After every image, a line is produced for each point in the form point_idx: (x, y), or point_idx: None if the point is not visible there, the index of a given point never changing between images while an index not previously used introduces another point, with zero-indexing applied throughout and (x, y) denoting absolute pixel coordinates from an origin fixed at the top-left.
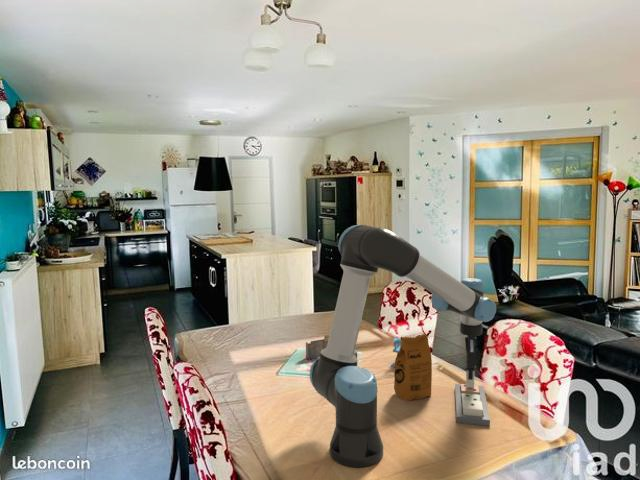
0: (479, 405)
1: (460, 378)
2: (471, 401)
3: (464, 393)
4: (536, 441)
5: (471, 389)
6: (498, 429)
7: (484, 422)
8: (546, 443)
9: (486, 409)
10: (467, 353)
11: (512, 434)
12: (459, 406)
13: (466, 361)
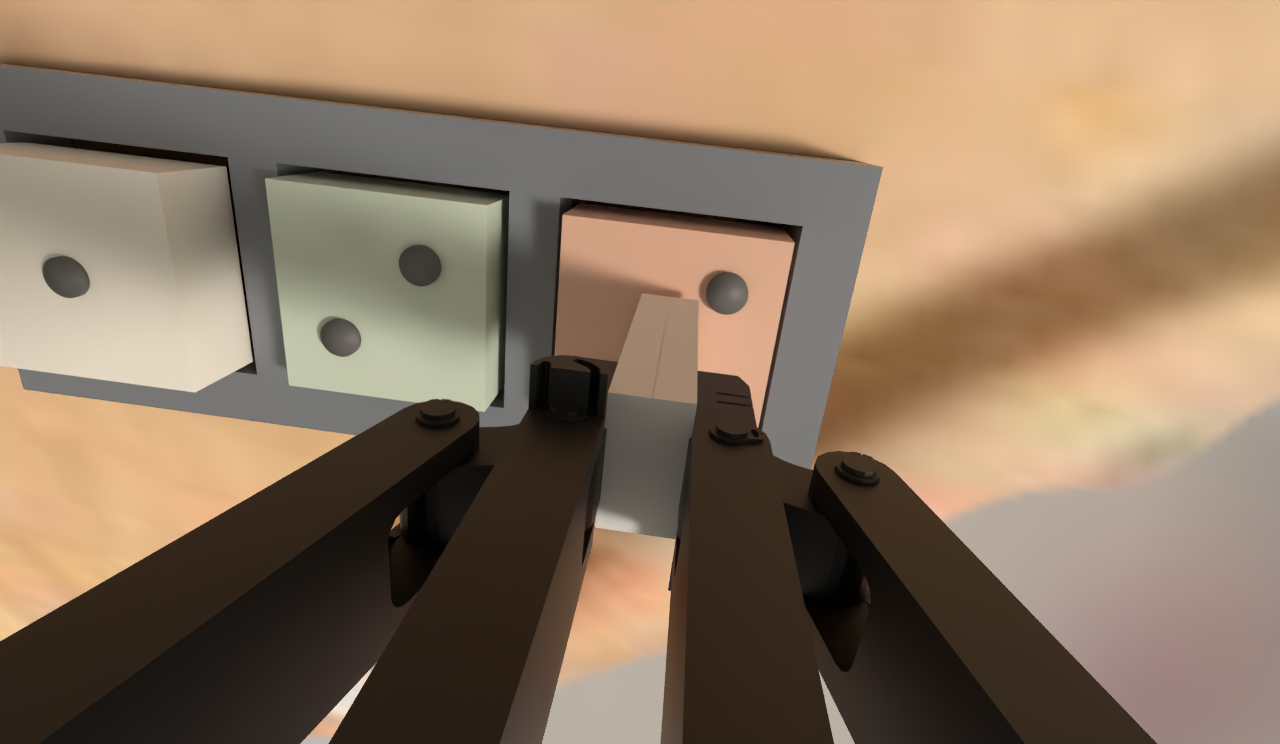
0: (84, 350)
1: (1209, 285)
2: (150, 279)
3: (484, 240)
4: (9, 607)
5: (620, 348)
6: (58, 420)
7: None
8: None
9: (230, 405)
10: (376, 731)
11: (29, 496)
12: (197, 128)
13: (859, 480)
